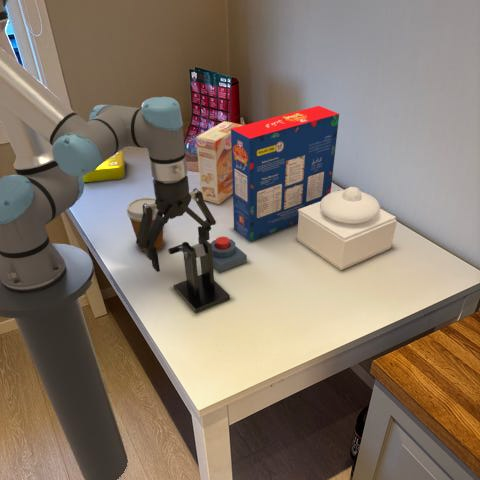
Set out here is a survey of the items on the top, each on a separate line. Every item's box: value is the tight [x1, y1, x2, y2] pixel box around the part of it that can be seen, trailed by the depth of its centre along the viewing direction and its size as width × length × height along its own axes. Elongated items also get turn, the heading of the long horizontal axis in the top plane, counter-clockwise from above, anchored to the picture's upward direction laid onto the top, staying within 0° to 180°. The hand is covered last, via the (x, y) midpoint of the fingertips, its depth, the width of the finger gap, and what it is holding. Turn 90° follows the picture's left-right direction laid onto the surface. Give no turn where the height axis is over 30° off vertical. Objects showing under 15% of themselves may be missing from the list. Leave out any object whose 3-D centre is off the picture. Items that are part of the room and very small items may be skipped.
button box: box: [209, 238, 248, 273], centre depth 124 cm, size 10×8×4 cm
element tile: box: [83, 150, 126, 183], centre depth 165 cm, size 15×15×5 cm
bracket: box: [173, 236, 231, 314], centre depth 109 cm, size 11×9×14 cm
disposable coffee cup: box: [126, 197, 164, 253], centre depth 126 cm, size 10×10×12 cm
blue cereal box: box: [231, 105, 340, 243], centre depth 130 cm, size 28×8×28 cm, turn 124°
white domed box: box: [296, 186, 398, 271], centre depth 124 cm, size 18×18×16 cm
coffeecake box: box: [195, 120, 244, 205], centre depth 147 cm, size 15×7×20 cm, turn 148°
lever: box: [167, 241, 206, 259], centre depth 111 cm, size 13×5×2 cm, turn 33°
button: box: [214, 236, 230, 250], centre depth 122 cm, size 4×4×2 cm
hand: (180, 260), depth 118 cm, fingers open, 12 cm apart
